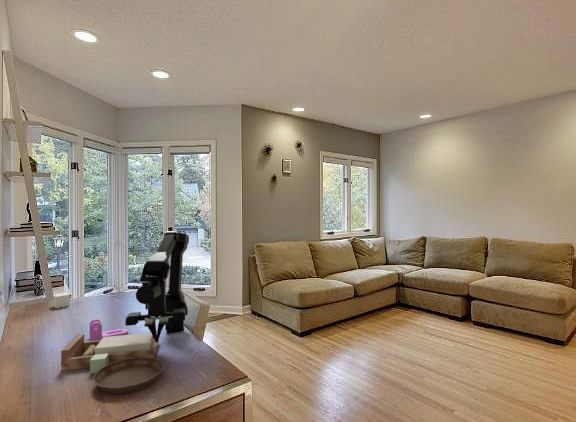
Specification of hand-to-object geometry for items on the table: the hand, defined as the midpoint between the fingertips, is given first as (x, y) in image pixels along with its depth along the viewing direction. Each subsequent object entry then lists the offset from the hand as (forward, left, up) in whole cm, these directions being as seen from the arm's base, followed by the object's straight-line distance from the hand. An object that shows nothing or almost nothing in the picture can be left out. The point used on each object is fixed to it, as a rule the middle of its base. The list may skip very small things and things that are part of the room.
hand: (156, 341), depth 114 cm
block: (+15, +9, -3) cm, 18 cm away
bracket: (+19, -20, -4) cm, 28 cm away
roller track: (+12, 0, -3) cm, 13 cm away
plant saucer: (+5, +19, -4) cm, 20 cm away
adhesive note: (+54, -74, -4) cm, 92 cm away
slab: (+10, 0, -1) cm, 10 cm away
